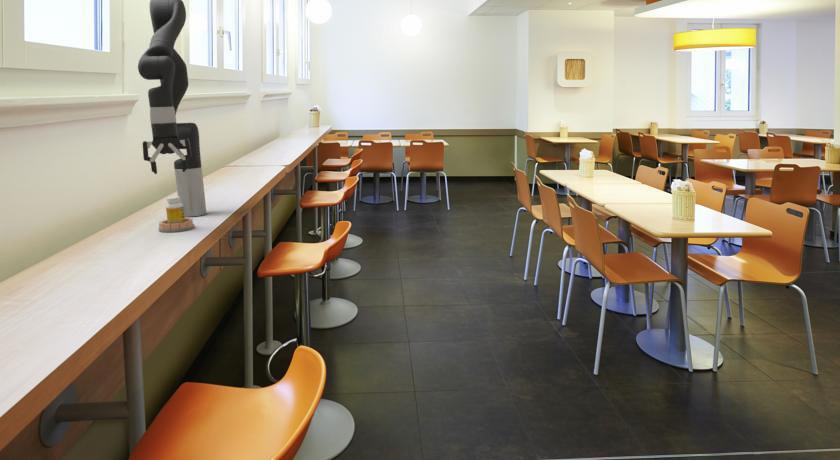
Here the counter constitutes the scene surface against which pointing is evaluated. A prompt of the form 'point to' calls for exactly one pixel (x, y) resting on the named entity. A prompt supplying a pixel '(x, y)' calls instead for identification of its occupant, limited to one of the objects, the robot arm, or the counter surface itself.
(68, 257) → the counter surface
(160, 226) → the ring tray
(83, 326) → the counter surface
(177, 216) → the supplement bottle
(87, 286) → the counter surface
